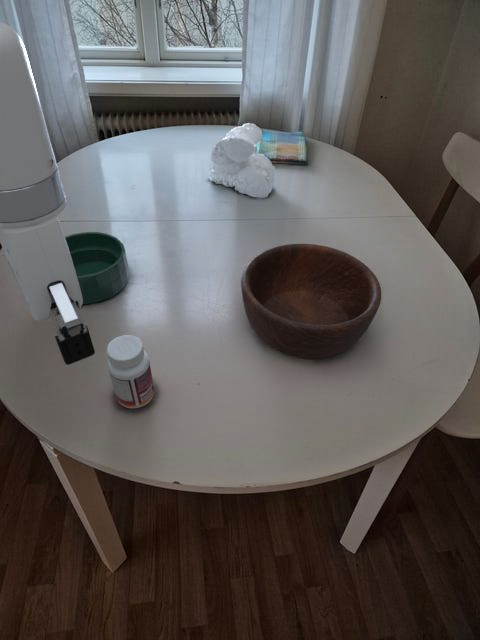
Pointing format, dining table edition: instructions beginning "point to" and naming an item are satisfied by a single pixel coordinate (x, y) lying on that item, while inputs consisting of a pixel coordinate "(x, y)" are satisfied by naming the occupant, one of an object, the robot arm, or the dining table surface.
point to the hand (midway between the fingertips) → (66, 331)
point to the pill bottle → (130, 371)
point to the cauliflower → (242, 162)
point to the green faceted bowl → (98, 264)
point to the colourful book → (284, 147)
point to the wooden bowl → (309, 299)
